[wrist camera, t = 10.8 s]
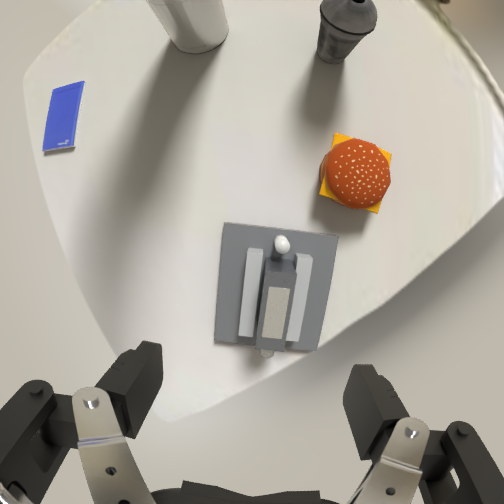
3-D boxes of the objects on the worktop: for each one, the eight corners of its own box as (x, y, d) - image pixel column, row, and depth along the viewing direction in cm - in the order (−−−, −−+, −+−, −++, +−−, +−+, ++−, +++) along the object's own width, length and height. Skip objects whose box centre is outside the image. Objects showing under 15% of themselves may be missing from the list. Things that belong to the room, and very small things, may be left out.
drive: (266, 256, 40) (266, 270, 32) (291, 259, 40) (297, 274, 32) (257, 322, 42) (255, 349, 34) (280, 324, 42) (283, 352, 34)
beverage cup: (356, 73, 35) (408, 4, 16) (310, 70, 36) (339, -10, 16) (349, 37, 34) (389, -37, 14) (305, 34, 34) (325, -49, 15)
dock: (225, 222, 41) (218, 225, 35) (335, 235, 40) (347, 241, 34) (215, 335, 44) (209, 354, 38) (315, 346, 44) (321, 366, 38)
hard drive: (72, 145, 38) (83, 80, 36) (41, 151, 39) (52, 89, 36) (77, 147, 40) (87, 83, 38) (46, 151, 40) (56, 91, 38)
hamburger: (324, 136, 38) (335, 125, 31) (383, 156, 38) (402, 150, 31) (310, 198, 40) (319, 198, 33) (370, 215, 40) (389, 219, 33)
